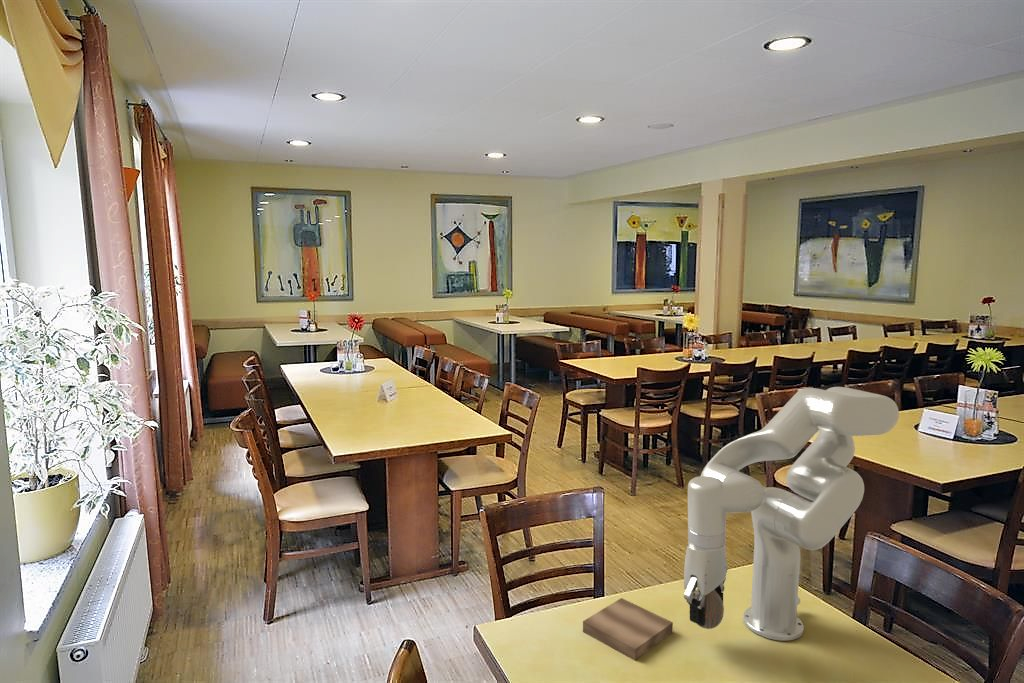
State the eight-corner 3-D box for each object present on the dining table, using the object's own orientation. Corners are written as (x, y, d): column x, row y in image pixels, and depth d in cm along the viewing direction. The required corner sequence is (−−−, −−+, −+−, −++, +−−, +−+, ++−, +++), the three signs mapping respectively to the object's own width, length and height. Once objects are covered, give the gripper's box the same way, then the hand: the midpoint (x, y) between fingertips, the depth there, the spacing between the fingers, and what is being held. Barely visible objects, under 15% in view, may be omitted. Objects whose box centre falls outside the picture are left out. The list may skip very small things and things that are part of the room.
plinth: (621, 607, 151) (621, 597, 150) (672, 632, 141) (672, 622, 140) (582, 631, 141) (583, 621, 141) (634, 660, 131) (635, 649, 131)
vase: (725, 634, 131) (725, 595, 130) (691, 632, 133) (690, 593, 131) (721, 615, 138) (721, 577, 137) (688, 613, 139) (688, 575, 138)
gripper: (711, 517, 141) (711, 592, 144) (667, 545, 129) (668, 626, 132) (743, 527, 136) (742, 604, 138) (700, 557, 124) (701, 641, 127)
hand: (706, 614), depth 135 cm, fingers closed on vase, 6 cm apart
